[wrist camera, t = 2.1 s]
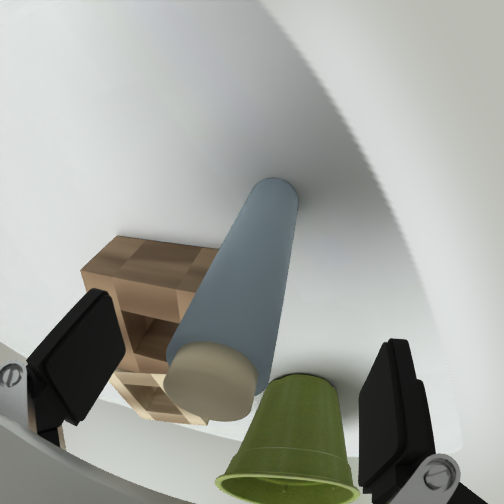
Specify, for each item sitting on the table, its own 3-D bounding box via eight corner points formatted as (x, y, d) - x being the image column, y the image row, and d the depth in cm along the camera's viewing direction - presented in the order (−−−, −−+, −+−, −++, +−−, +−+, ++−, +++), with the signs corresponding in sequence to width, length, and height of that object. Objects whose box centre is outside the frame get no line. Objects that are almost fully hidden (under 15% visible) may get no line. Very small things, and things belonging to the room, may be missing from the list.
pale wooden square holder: (122, 334, 29) (99, 370, 25) (187, 331, 27) (167, 374, 23) (158, 384, 33) (142, 418, 28) (220, 386, 30) (207, 425, 26)
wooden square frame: (116, 235, 23) (80, 270, 19) (240, 252, 22) (221, 297, 17) (137, 328, 28) (113, 365, 24) (238, 349, 27) (224, 395, 23)
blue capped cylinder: (251, 175, 19) (142, 349, 7) (300, 180, 18) (267, 376, 6) (249, 220, 20) (163, 411, 8) (295, 225, 20) (259, 433, 8)
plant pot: (224, 361, 28) (188, 468, 19) (353, 348, 24) (356, 472, 15) (261, 423, 33) (243, 507, 24) (363, 416, 29) (362, 508, 20)
